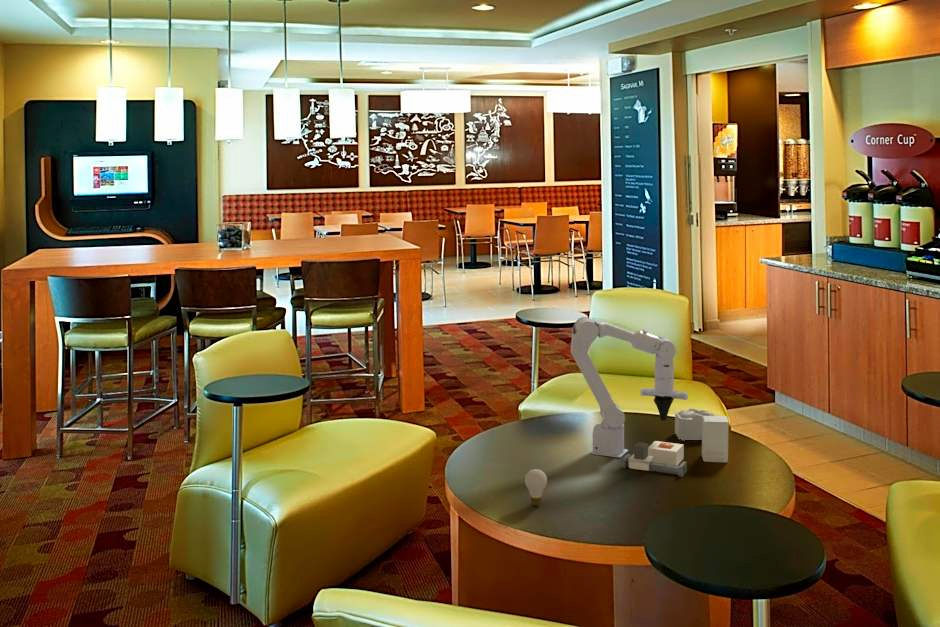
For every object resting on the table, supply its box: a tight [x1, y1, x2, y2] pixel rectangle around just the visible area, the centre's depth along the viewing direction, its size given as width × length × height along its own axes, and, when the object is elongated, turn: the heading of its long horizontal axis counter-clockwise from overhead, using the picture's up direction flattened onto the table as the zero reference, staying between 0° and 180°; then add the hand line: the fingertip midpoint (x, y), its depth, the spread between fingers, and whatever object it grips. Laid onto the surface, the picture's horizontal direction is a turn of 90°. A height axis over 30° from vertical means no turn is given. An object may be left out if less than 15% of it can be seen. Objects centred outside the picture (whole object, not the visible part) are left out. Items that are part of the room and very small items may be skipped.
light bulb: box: [524, 468, 548, 507], centre depth 232 cm, size 6×6×10 cm
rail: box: [621, 453, 688, 478], centre depth 259 cm, size 18×5×3 cm, turn 61°
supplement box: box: [701, 415, 730, 463], centre depth 267 cm, size 7×7×13 cm
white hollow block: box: [648, 440, 685, 465], centre depth 267 cm, size 9×8×4 cm
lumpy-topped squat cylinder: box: [674, 407, 717, 441], centre depth 291 cm, size 10×13×9 cm
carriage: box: [628, 441, 653, 472], centre depth 260 cm, size 6×5×7 cm
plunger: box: [660, 442, 671, 449], centre depth 267 cm, size 3×3×5 cm
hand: (663, 419), depth 274 cm, fingers closed
